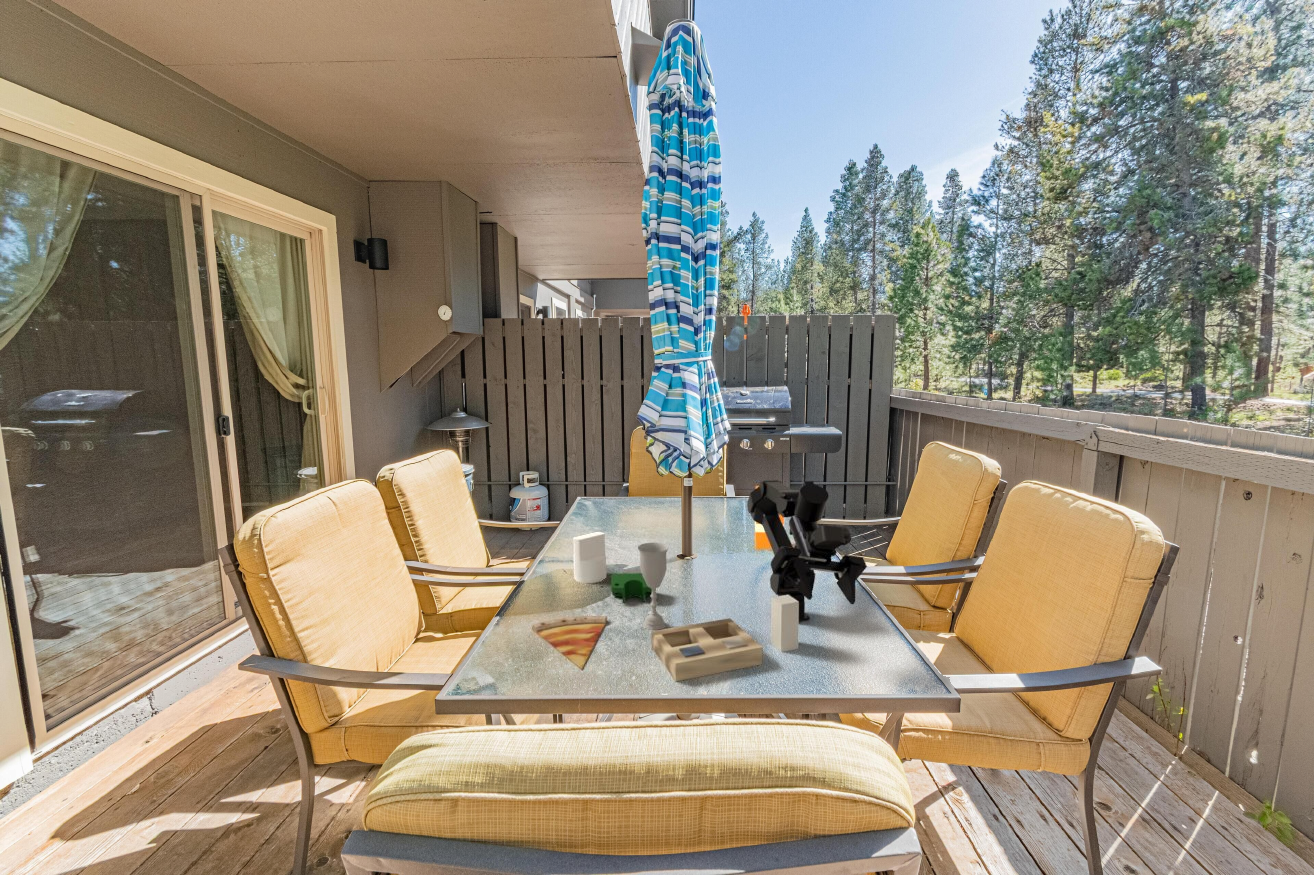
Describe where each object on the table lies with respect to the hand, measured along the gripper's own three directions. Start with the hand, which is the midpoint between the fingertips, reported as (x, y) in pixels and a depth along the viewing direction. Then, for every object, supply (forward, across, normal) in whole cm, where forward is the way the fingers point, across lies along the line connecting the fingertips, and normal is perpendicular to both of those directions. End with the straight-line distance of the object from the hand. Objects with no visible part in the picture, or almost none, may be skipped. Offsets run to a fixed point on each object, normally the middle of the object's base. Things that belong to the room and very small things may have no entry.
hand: (832, 600), depth 108 cm
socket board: (+1, -18, +21) cm, 28 cm away
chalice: (-12, -25, +31) cm, 42 cm away
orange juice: (-56, +23, +48) cm, 77 cm away
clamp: (-25, -26, +40) cm, 54 cm away
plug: (-1, -2, +17) cm, 18 cm away
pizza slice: (-7, -46, +34) cm, 57 cm away
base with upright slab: (-39, -35, +52) cm, 74 cm away
